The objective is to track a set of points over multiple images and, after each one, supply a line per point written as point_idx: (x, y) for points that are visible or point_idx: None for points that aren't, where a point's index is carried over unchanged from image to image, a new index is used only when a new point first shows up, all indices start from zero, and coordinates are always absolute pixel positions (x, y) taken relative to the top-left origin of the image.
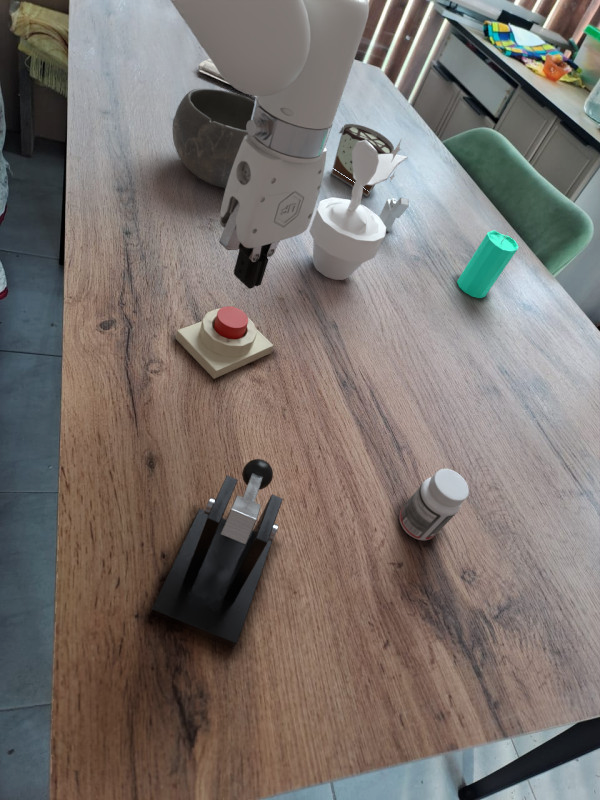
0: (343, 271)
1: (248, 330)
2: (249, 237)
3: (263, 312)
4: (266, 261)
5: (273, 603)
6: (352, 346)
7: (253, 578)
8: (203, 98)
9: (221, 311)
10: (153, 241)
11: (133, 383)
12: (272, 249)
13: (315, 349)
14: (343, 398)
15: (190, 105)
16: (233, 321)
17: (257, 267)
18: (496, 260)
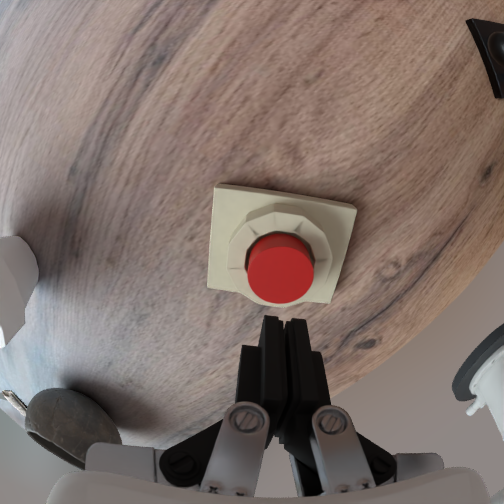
0: (12, 244)
1: (255, 237)
2: (490, 500)
3: (156, 257)
4: (274, 392)
5: (486, 8)
6: (80, 121)
7: (500, 27)
8: (80, 461)
9: (287, 297)
10: (209, 400)
11: (425, 265)
12: (234, 428)
13: (136, 145)
14: (189, 38)
15: None
16: (290, 268)
17: (314, 381)
18: None
